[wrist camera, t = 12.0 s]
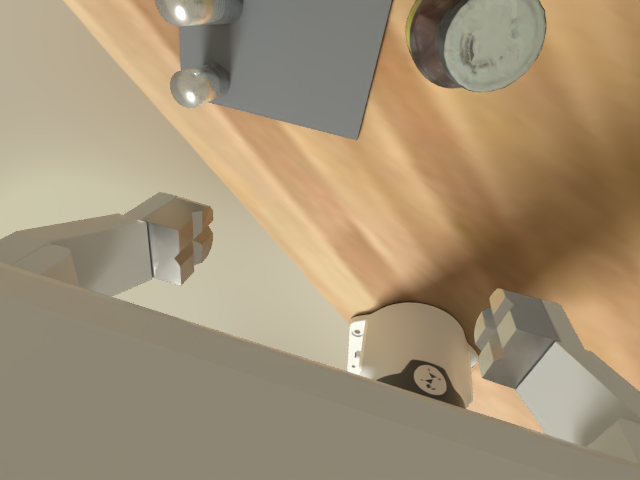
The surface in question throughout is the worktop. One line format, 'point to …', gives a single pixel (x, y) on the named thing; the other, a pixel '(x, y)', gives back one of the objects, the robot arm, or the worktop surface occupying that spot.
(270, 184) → the worktop surface
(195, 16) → the medium pin
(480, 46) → the sauce bottle
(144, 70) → the worktop surface
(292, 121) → the mat
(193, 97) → the short pin
